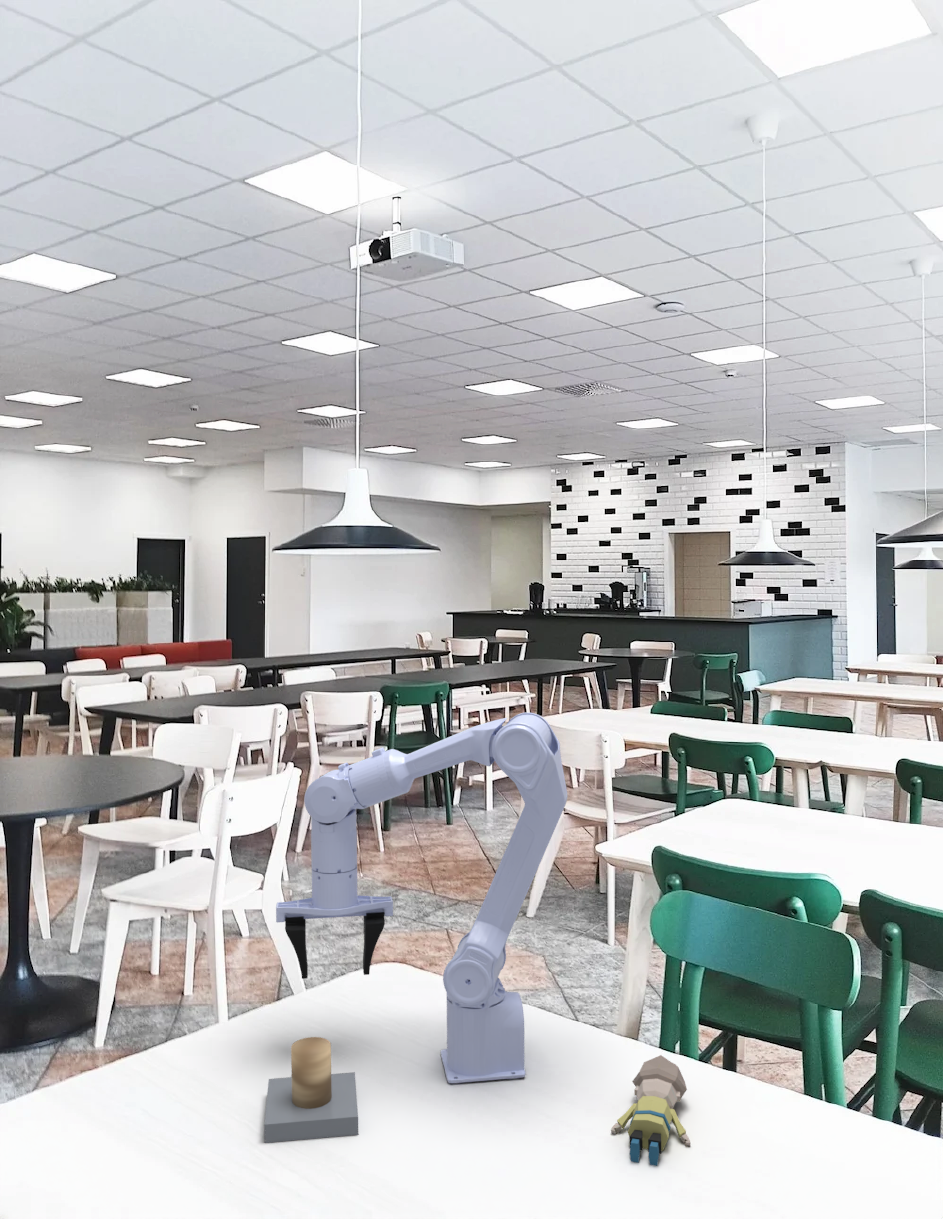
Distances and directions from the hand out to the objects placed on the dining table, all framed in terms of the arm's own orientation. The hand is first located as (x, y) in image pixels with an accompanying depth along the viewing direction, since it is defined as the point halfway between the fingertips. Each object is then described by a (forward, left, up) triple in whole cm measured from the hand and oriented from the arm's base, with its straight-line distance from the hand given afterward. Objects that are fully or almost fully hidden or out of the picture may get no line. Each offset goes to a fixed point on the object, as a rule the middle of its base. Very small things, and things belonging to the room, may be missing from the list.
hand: (335, 973), depth 129 cm
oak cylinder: (+3, +14, -8) cm, 17 cm away
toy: (-34, +23, -11) cm, 42 cm away
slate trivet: (+3, +14, -10) cm, 18 cm away
